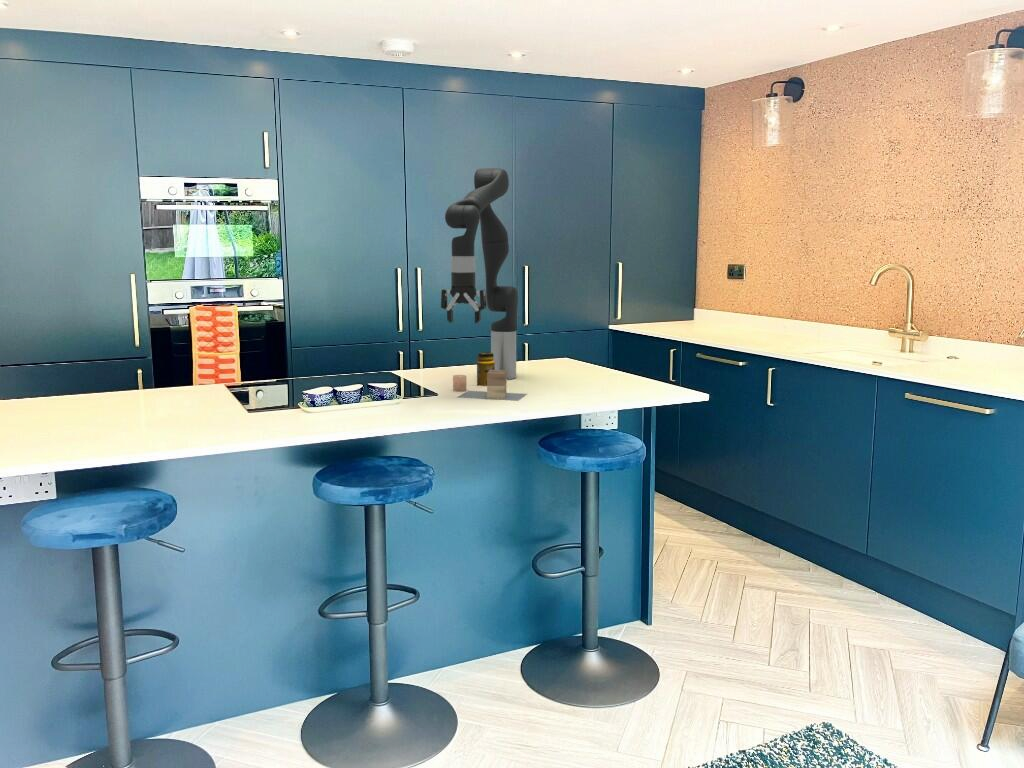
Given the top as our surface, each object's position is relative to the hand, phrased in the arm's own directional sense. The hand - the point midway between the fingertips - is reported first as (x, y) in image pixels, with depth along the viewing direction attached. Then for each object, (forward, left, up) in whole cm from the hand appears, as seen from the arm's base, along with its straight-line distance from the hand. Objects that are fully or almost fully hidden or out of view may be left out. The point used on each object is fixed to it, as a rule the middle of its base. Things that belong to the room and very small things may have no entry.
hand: (463, 322), depth 264 cm
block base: (+2, +11, -23) cm, 26 cm away
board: (0, +9, -24) cm, 26 cm away
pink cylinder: (-6, -4, -24) cm, 25 cm away
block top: (+2, +11, -19) cm, 22 cm away
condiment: (-19, 0, -24) cm, 31 cm away
